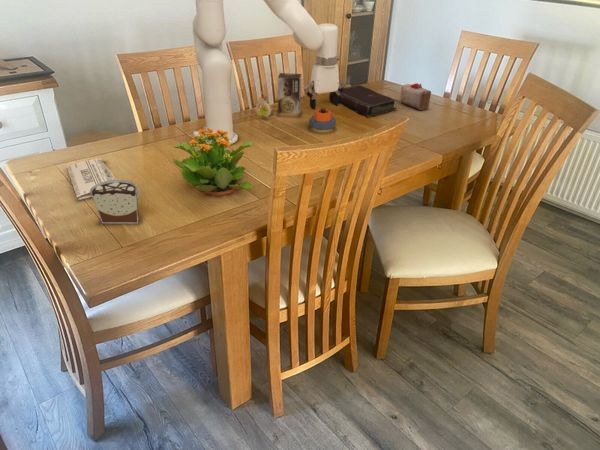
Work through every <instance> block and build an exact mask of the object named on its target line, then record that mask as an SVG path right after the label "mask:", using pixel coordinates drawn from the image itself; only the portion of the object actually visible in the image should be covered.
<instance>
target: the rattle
mask: <svg viewBox="0 0 600 450" xmlns="http://www.w3.org/2000/svg"><path fill="white" fill-rule="evenodd" d="M260 93H261V95H262V96H261V97H259V98H258V101H257V102H256V104H255V113H256V115H257V116H264V117H267V118H268V117H270V116H271V115H272V109H271V105H270V104H269V103H268V102H267V100H268V94H265V95H264V93H263V92H262V91H261V90H260ZM260 107H263V108H260Z"/></svg>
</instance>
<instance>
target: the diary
mask: <svg viewBox="0 0 600 450" xmlns="http://www.w3.org/2000/svg"><path fill="white" fill-rule="evenodd" d="M333 94H334V92H329V96H328V98H329V101H330V102H332V103H333ZM395 102H399V100H397V99H395V98H393V97H390V96H387V95H384V94H381V93H379V92H377V91H375V90H373V89H371V88H369V87H365V86H363V85H361V84H357V85H353V86H347V87H346V86H345V87H344V90H343V91H342V92H341V95H340V96H339V103H338V105H341V106H344V107H345V108H347V109H349V110H351V111H353V112H356V113H359V114H360V115H363V116H365V117H367V118H369V117H373V116H377V115H381V114H386V113H389V112H393V111H395V110H397V108H398V107H395Z"/></svg>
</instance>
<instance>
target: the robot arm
mask: <svg viewBox="0 0 600 450" xmlns="http://www.w3.org/2000/svg"><path fill="white" fill-rule="evenodd" d="M263 1H264V3H265V4H266V5H267V7H268V8H269V9H270V11H271V12H272V13H273V14H274V15H275V16H276V17H277V18H278V19H280V20H281V21H282V22H283V23H285V24H286V26H287V27H289V29H291V31H292V38H293V41H294V42H295V43H296V44H297V45H298V46H300V47H302V48H303V49H305V50H307V51H309V52H315V64H313V65H312V68H311V74H310V82H309V83H308V84H307V85H305V86H303V91H304V93H305V95H306V96H307V97H308V98H309V108H310V109H311V110H313V111H315V110H316V109H317V108H316V107H317V99H316V97H317V96H318V94H319V95H321V94H330V92H334V94H333V102H332V105H333V106H335V107H339V104H338V103H339V96H340V95H341V92H342V91H343V90H344V88H346V85H347V83H346V82H345V81H343V80H341V79H340V71H339V65H338V61H339V60H340V56H338V38H339V27H338V26H337V25H336V24H334V23H328V22H327V23H320V24H317V23H316V21H315V20H314V18H313V17H312V16H311V15H310V13H309V12H308V11H307V10H306V8H305V7H304V6H303V5H302V4H301V2H300V1H299V0H263ZM195 10H196V14H195V16H194V17H193V19H192V34H193V40H194V41H193V42H194V51H195V57H196V62H197V64H198V66H199V67H200V70H201V73H202V94H203V105H204V116H205V117H204V118H205V126H203V130H207V131H208V128H210V129H212V130H213V132H212V133H217V130H221V131H222V130H223V132H224V131H225V132H226V131H227V132H228V134H227V135H228V138H229V143H230V145H232V144H234V143H236V142H237V141H238V140H239V137H238V134H237V133H235V132H234V122H233V120H234V119H233V103H232V102H233V101H232V64H231V61H230V58H229V57H228V55H227V53H225V51H223V41H224V40H225V38H226V34H227V29H226V28H227V27H226V22H225V11H224V0H195ZM206 133H207V132H206ZM192 135H193V137H194V138H198V135H199V130H196V131H193V132H192ZM199 136H200V135H199ZM206 136H207V135H205V139H206ZM220 138H221V137H219V139H220ZM221 139H222V138H221ZM207 140H208V139H206V141H207ZM213 140H214V139H213ZM222 140H224V138H223V139H222ZM209 142H210V140H209ZM209 142H206V145H209V144H211V142H212V140H211V142H210V143H209Z"/></svg>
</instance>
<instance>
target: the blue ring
mask: <svg viewBox="0 0 600 450" xmlns="http://www.w3.org/2000/svg"><path fill="white" fill-rule="evenodd" d="M336 123H337V118H335V117H334V116H332V119H331V120H330V121H327V122H320V121H316V120H315V119H314V115H312V116H310V118H309V120H308V126H309V127H310V126H311V127H310V128H312V127H313V128H312V129H314V128H315V129H314V130H319V129H321V130H320V131H322V130H323V131H327V130H326V129H329V130H332V129H334V128H335V127H336V125H337V124H336ZM334 126H335V127H334ZM333 127H334V128H333Z"/></svg>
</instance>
